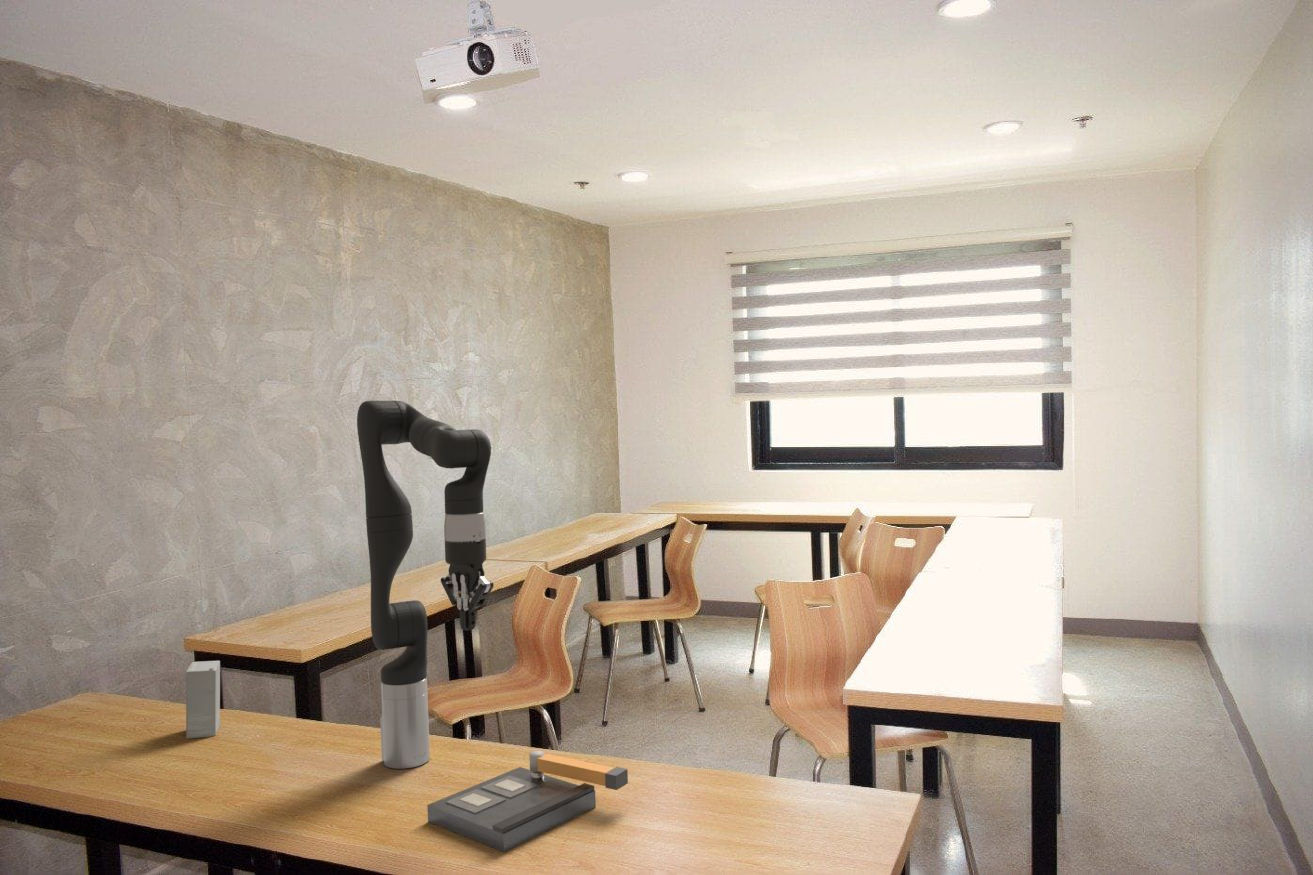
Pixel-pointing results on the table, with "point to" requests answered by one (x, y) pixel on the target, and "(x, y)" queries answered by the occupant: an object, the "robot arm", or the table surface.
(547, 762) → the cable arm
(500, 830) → the plate
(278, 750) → the table surface
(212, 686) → the skincare box
